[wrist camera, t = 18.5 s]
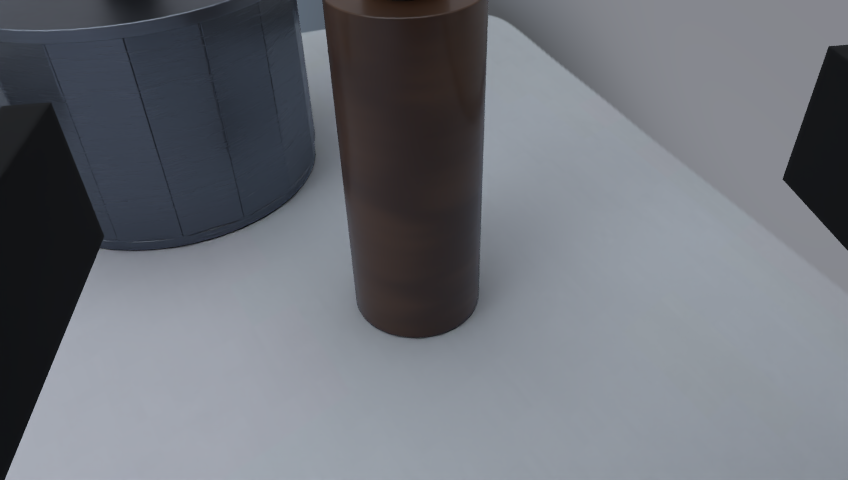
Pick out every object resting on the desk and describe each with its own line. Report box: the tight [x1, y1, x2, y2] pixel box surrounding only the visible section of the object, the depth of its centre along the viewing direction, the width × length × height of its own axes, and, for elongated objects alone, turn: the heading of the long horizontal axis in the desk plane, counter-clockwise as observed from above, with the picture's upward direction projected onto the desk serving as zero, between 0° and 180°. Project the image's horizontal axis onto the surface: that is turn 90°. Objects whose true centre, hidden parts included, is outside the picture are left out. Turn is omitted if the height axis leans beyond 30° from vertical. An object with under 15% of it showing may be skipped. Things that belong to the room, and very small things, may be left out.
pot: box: [0, 0, 316, 250], centre depth 33 cm, size 14×14×10 cm
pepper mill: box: [322, 0, 488, 338], centre depth 23 cm, size 5×5×14 cm
